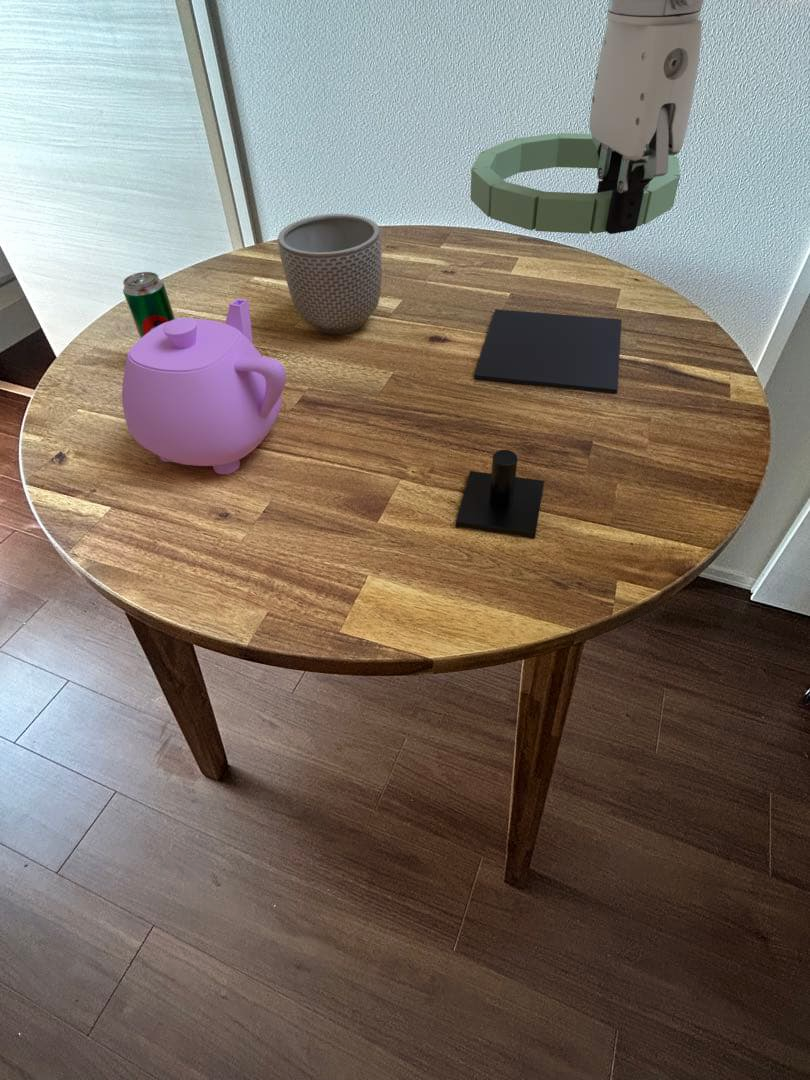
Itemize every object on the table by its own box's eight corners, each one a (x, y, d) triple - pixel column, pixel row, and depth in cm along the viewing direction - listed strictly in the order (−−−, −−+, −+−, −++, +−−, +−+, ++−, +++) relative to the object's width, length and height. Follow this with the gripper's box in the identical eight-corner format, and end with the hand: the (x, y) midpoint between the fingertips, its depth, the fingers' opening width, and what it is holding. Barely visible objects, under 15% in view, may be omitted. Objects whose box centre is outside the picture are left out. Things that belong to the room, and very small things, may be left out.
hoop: (669, 165, 79) (676, 135, 76) (674, 238, 64) (683, 204, 62) (489, 159, 83) (490, 131, 81) (456, 227, 69) (456, 194, 66)
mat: (620, 323, 92) (621, 319, 92) (616, 393, 81) (617, 389, 80) (495, 312, 96) (495, 308, 96) (473, 378, 84) (473, 374, 84)
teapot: (343, 401, 82) (328, 285, 71) (268, 504, 69) (236, 383, 58) (209, 377, 87) (176, 266, 76) (117, 469, 74) (61, 352, 63)
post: (543, 485, 69) (550, 437, 65) (534, 538, 64) (542, 490, 59) (469, 476, 71) (471, 427, 66) (455, 526, 66) (456, 478, 61)
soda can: (195, 359, 90) (169, 275, 82) (169, 377, 88) (139, 291, 79) (170, 350, 92) (142, 267, 84) (143, 367, 89) (111, 283, 81)
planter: (386, 345, 91) (380, 251, 82) (288, 349, 91) (270, 257, 82) (387, 299, 100) (381, 210, 91) (297, 303, 101) (283, 215, 91)
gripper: (757, 4, 49) (689, 250, 62) (647, -20, 59) (609, 195, 73) (668, 13, 48) (618, 263, 61) (572, -13, 58) (547, 205, 72)
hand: (613, 224), depth 67 cm, fingers closed on hoop, 2 cm apart
